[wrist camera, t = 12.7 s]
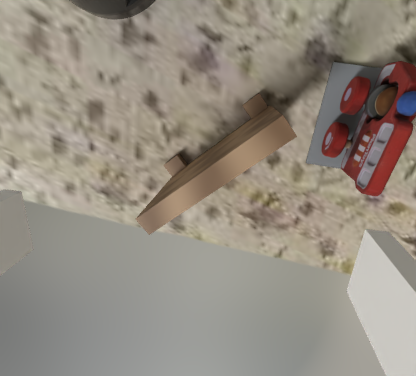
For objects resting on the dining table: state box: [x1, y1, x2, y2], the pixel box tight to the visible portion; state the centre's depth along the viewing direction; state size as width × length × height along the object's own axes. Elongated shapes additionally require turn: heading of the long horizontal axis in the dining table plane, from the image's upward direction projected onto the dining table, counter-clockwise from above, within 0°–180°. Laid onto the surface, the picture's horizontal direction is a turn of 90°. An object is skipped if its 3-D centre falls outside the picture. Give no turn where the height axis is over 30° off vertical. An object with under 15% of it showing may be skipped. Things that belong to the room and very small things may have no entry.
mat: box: [306, 62, 383, 169], centre depth 33 cm, size 12×10×1 cm
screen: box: [136, 93, 297, 235], centre depth 30 cm, size 16×6×14 cm, turn 127°
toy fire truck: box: [321, 61, 416, 196], centre depth 28 cm, size 7×12×10 cm, turn 165°
